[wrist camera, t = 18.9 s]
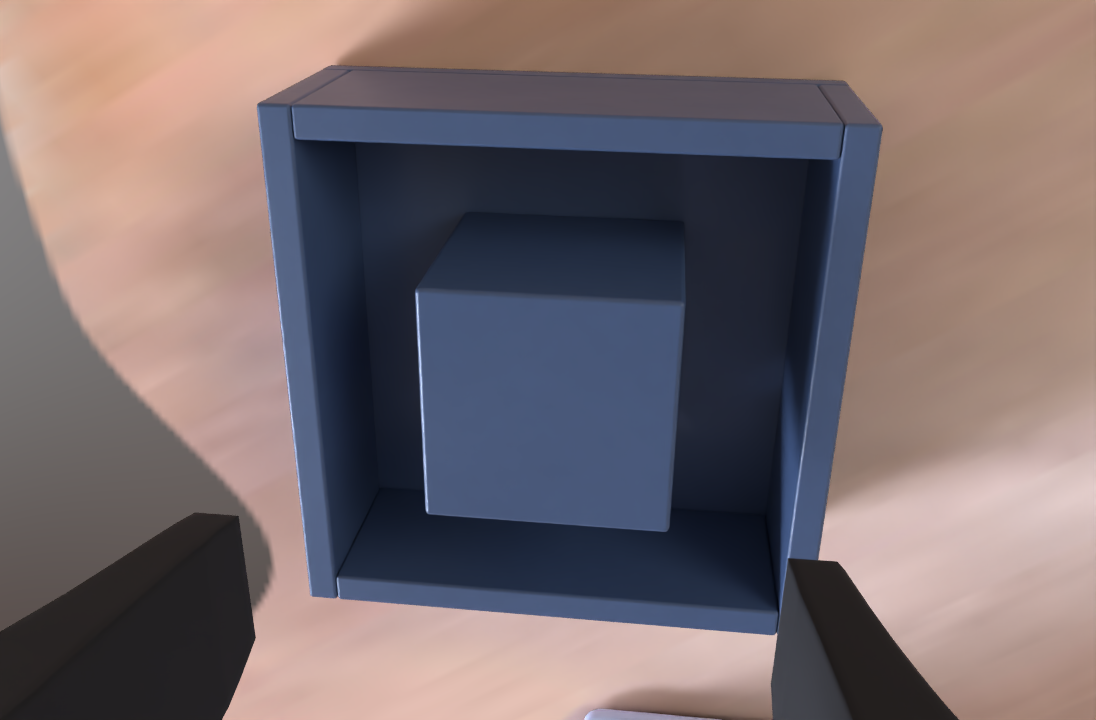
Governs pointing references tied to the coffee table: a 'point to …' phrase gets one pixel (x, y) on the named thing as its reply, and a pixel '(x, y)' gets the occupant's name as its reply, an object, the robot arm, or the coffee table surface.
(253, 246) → the coffee table surface
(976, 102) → the coffee table surface
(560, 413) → the slate block
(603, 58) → the coffee table surface
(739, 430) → the slate bin
